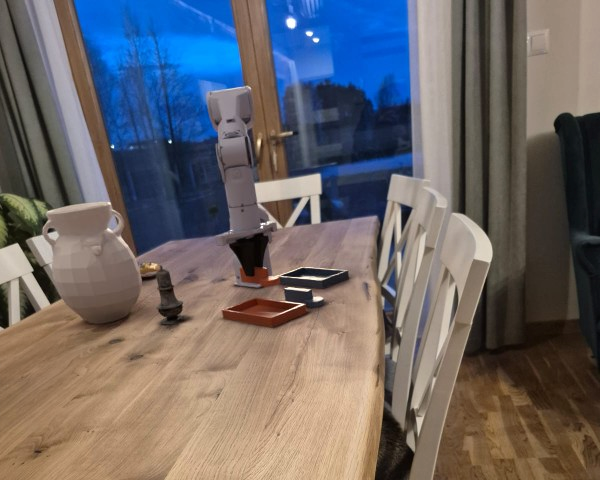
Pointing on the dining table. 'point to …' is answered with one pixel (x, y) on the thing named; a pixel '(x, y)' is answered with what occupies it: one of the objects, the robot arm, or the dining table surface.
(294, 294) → the dark blue stepped block
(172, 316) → the salt shaker
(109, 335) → the dining table surface
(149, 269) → the cake
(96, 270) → the white handled vase
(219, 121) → the robot arm
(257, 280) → the orange stepped block
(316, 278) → the slate tray
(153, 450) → the dining table surface
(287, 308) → the terracotta tray
